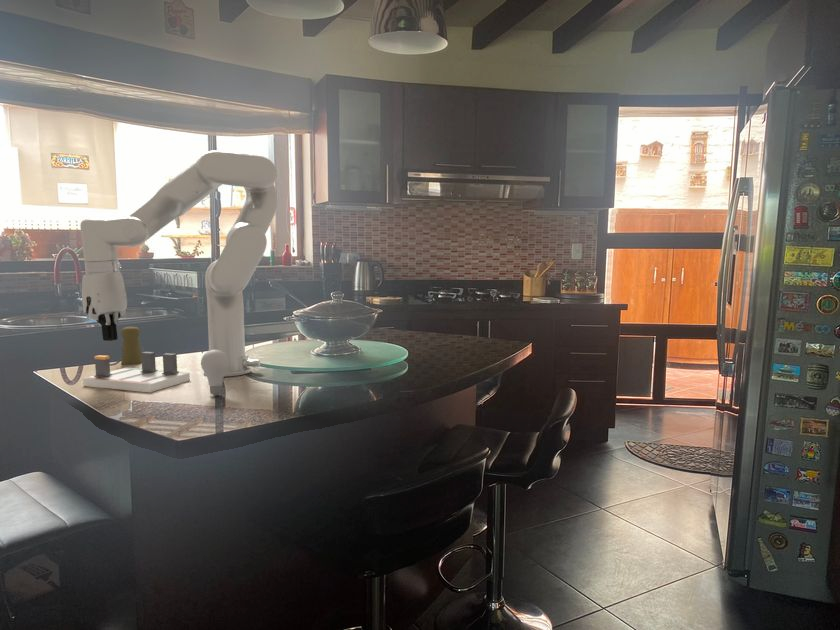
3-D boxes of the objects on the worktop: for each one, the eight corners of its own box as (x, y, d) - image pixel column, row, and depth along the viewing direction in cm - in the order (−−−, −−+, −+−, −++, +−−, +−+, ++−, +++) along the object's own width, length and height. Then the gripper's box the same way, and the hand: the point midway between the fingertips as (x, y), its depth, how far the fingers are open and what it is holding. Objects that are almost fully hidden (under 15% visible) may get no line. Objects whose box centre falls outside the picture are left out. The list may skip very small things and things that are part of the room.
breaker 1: (149, 370, 158) (148, 351, 157) (158, 370, 157) (157, 351, 156) (139, 372, 155) (138, 353, 154) (148, 373, 154) (147, 353, 153)
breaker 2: (170, 371, 155) (169, 352, 155) (179, 372, 154) (178, 353, 154) (161, 374, 152) (160, 354, 152) (170, 374, 151) (169, 355, 151)
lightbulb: (214, 400, 135) (212, 352, 133) (196, 396, 138) (194, 350, 137) (235, 394, 140) (233, 349, 139) (218, 391, 143) (216, 346, 142)
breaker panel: (127, 374, 162) (126, 367, 162) (189, 380, 155) (189, 372, 155) (83, 385, 149) (82, 377, 149) (149, 392, 142) (149, 384, 142)
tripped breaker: (103, 374, 152) (102, 354, 152) (112, 375, 151) (111, 355, 151) (93, 376, 149) (91, 356, 149) (102, 377, 148) (101, 357, 148)
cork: (147, 361, 182) (145, 325, 181) (135, 364, 176) (133, 328, 175) (128, 360, 182) (126, 325, 181) (116, 364, 176) (114, 328, 175)
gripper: (114, 266, 157) (122, 334, 159) (64, 270, 143) (74, 345, 145) (136, 266, 154) (144, 335, 157) (88, 270, 140) (97, 345, 143)
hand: (110, 339), depth 151 cm, fingers closed
